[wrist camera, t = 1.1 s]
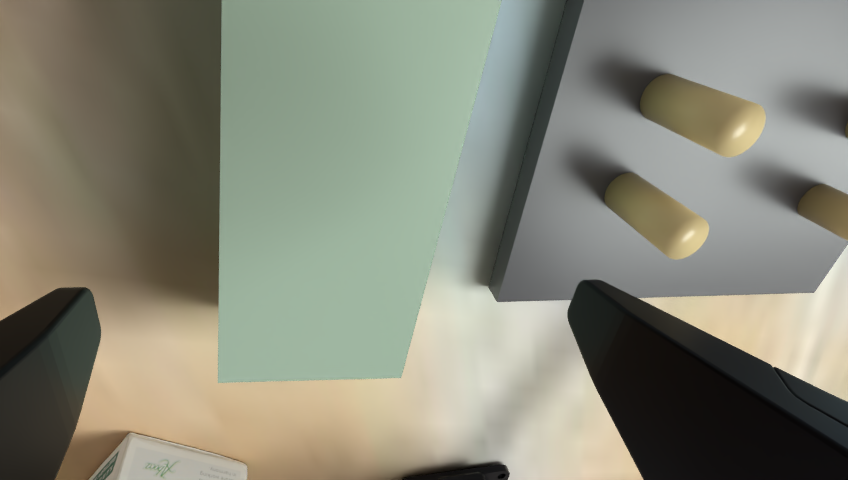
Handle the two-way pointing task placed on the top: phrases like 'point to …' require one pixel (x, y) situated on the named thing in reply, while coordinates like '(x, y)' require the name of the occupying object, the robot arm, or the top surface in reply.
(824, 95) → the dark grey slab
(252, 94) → the board
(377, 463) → the top surface
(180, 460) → the syrup box
